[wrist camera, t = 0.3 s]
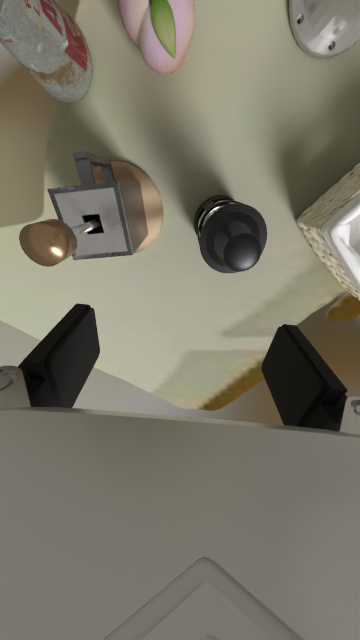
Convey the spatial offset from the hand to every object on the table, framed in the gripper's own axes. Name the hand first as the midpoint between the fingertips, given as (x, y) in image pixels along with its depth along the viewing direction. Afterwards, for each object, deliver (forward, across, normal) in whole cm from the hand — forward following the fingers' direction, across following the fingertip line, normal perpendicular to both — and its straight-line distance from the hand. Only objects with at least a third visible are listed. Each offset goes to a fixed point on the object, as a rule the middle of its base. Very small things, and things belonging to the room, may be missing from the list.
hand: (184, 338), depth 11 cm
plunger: (+29, +13, -1) cm, 32 cm away
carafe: (+37, +13, -3) cm, 39 cm away
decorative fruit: (+38, +6, -24) cm, 45 cm away
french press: (+38, -7, -1) cm, 38 cm away
